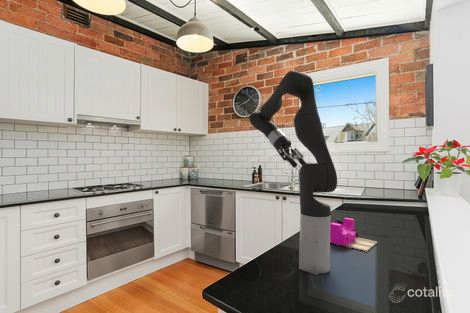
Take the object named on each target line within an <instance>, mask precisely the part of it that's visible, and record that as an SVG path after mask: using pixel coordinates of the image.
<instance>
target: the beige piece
mask: <svg viewBox="0 0 470 313" xmlns="http://www.w3.org/2000/svg"><path fill="white" fill-rule="evenodd" d="M377 244H378V241H376V240H371V239H366V238H361V237H359V236H358V237H356V240H355V241H353V242H352V243H350V244H348V245H346V247H345V248H347V247H350V248H349V249H351V248H354V249H353V250H355V249H358V250H357V251H359V250H363V251H362V252H364V251H365V253H367V252H368V250H369V251H370V250H371V249H373V247H375V246H376V245H377Z"/></svg>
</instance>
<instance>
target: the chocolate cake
mask: <svg viewBox="0 0 470 313" xmlns="http://www.w3.org/2000/svg"><path fill="white" fill-rule="evenodd" d="M343 221H344V220H343V219H341V218H340V217H336V219H335V220H334V221H333V223H337V224H342V225H343ZM354 232H356V237H358V238H359V236H360V235H359V233H358V231H356V230H355V229H354Z"/></svg>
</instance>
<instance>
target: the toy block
mask: <svg viewBox="0 0 470 313" xmlns="http://www.w3.org/2000/svg"><path fill="white" fill-rule="evenodd" d="M342 221H343V225H342V224H337V223H334V222H331V224H330V243H334V244H338V245H337V246H339V245H342V246H341V247H343V246H346V245H348V244H350V243H352V242H353V241H355V240H356V232H357V231H356V232H354V230H355V219H354V218H349V217H344V218H343V220H342ZM334 244H333V245H334Z"/></svg>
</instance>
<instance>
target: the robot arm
mask: <svg viewBox="0 0 470 313" xmlns="http://www.w3.org/2000/svg"><path fill="white" fill-rule="evenodd" d="M314 88H315V87H314V82H313V79H312V77H311V76H310V75H308V74H306V73H303V72H300V71H298V70H289V71H288V72H287V73H285V74H284V76H283V78H282V79H281V80H280V82H279V83H278V85H277V86H276V88H275V89H274V91H273V92H272V94H271V95H270V97H269V98H268V99H267V100H266V101H265V102H264V104H262V105H261V107H260V110H257V111H254V112H252V113H251V114H249V118H248V119H249V123H250V124H251V126H252V127H253V128H255V129H256V130H258V131H259V132H261V133H262V134H263V135H264V136H265V138H266V139H267V140H268V141H269V143H270V144H271V145H272V146H273V148H274V149H275V150H276V152H277V154H278V155H279V156H280V157H281V158H282V160H283V161H284V162H288V163H289V164H290V166H292V168H295V169H296V167H298V163H299V164H300V165H301V166H300V167H299V168H300V169H299V174H298V178H299V180H298V181H299V182H298V183H299V207H300V208H299V209H300V214H299V216H300V217H299V220H300V221H299V226H300V227H299V240H298V243H299V244H298V251H299V252H298V269H299V270H300V271H304V272H307V273H310V274H312V275H315V276H318V275H320V274H321V275H322V274H327V273H329V272H330V270H331V267H330V266H331V244H330V224H331V223H332V222H331V220H332V219H331V217H332V216H331V214H332V212H331V211H332V210H331V206H330V204H327V203H325V202H322V201H319V200H317V199H316V198H315V197H314V194H315V193H318V194H319V193H321V194H322V193H325V194H326V193H332V192H334V191H335V190H336V189H337V186H338V176H337V171H336V167H335V165H334V162H333V159H332V157H331V154H330V151H329V149H328V145H327V142H326V138H325V134H324V130H323V126H322V125H323V124H322V122H321V117H320V114H319V110H318V106H317V101H316V96H315V95H316V94H315V89H314ZM287 94H288V95H289V96H292V97H297V98H298V99H299V101H300V107H299V109H298V110H297V112H296V113H295V115H294V117H293V125H294V131H295V134H296V135H295V136H296V138H297V139H298V141H299V142H300V143H301V144H302V145H303V146H304V148H306V149H307V150H308V151H309V152H310V153H311V154H312V156H313V157H314V159H315V160H316V162H315V163H314V162H313V163H312V162H311V163H310V162H309V163H307V162H306V161H305V160H304V158H305V157H304V155H303V154H302V152H300V150H299V149H297V148H296V147H295V148H293V147H292V141H291V140H290V139H289V138H288V137H287V136H286V135H285V133H284V132H283V131H282V130H281V129H279V127H278V126H277V125H276V124H275V123H274V122H272V121H271V120H272V119H273V116H275V114H277V113H279V111H280V110H281V109H282V105H283V96H285V95H287ZM297 162H298V163H297Z"/></svg>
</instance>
